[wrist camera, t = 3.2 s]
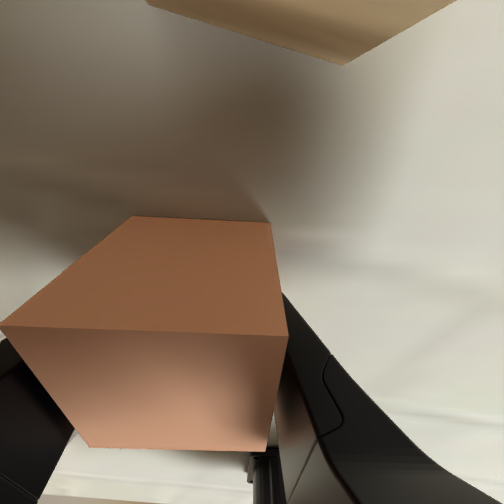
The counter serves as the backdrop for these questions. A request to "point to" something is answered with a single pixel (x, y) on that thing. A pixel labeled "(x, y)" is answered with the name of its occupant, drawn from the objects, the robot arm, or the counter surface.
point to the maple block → (311, 21)
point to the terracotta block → (163, 336)
